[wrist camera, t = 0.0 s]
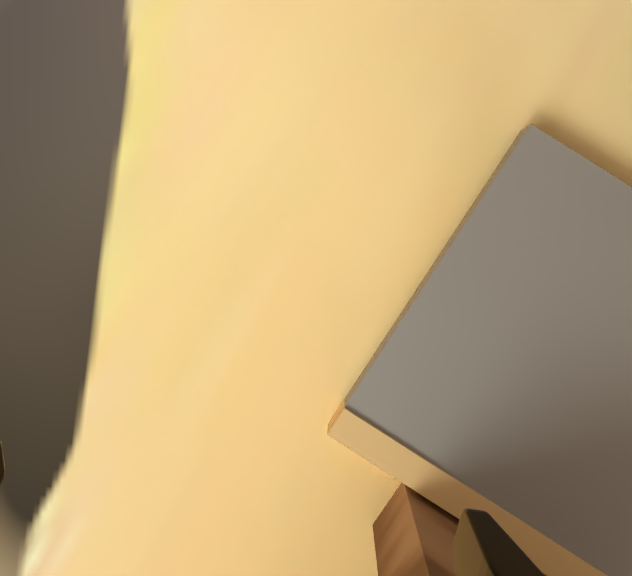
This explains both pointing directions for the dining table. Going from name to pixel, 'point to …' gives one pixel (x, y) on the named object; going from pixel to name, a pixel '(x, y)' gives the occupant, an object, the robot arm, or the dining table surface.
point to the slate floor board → (518, 366)
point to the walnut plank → (414, 537)
